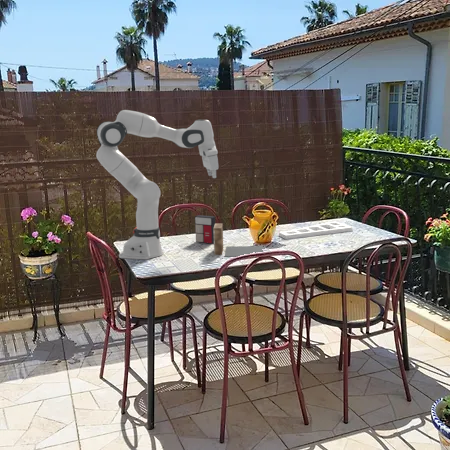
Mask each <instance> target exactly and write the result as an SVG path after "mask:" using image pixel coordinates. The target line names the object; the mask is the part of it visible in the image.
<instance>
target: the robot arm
mask: <svg viewBox="0 0 450 450" xmlns="http://www.w3.org/2000/svg"><path fill="white" fill-rule="evenodd" d="M127 134H130V135H133V136H137V137H142V138H160V139H164V140H167V141H171V142H172V143H173V144H175V145H176V146H177V147H180V148H181V149H182V148H183V149H184V148H186V149H193V148H195V147H198V151H199V152H198V153H199V156H201V159H202V165H203V168H205V169H206V171H207V174H208V176H209V177H212V179H216V178H217V170H219V159H218V154H219V152H218V149H217V146H216V142H215V139H214V137H215V135H214V130H213V127H212V123H211V121H210V120H208V119H196V120H194V122H193V124H191V125H190V126H189V127H187V128H183V127H181V128H172V127H169V126H165V125H162V124H161V123H159V122H158V120H157V119H156V118H155V117H153V116H151V115H149V114H146V113H143V112H141V111H135V110H129V109H122V110H120V111H119V112H118V113H117V115H116V119H115V121H103V122H101V123H100V124H99V125H98V126H97V128H96V136H97V140H98V143H99V145H100V147H99V148H98V149H97V151H96V155H95V156H96V159H97V161H98V162H99V163H100V165H101V166H102V167H103V168H104V169H105V170H106V171H107V172H108V173H109V174H110V175H111V176H112V177H114V178H115V179H116V180H117V181H118V182H119V183H120V184H121V185H122V186H123V187H124V188H125V189H126V190H127V191H128V192H129V193H130V194H131V195H132V196H133V197H134V198H135V199H137V200H136V201H137V205H136V212H135V220H136V221H135V222H136V227H135V228H133V230H132V234H133V235H132V236H131V237H130V238H128V240H127V241H126V242H125V243H124V245H123V249H122V250H121V251H120V253H119V254H118V257H119V258H120V259H128V260H129V259H131V260H132V259H133V260H149V259H152V258H158V257H160V256H162V255H164V251H163V248H162V245H161V244H162V243H161V232H160V230H161V229H160V227H159V203H160V198H161V194H162V193H161V189H160V187H159V186H158V184H157V183H156V182H154V181H153V180H152V181H151V180H150V179H148V178H146V176H145V175H144V174H143V173H142V172H141V171H140V170H139V168H138V167H137V166H136V165H135V164H134V163H133V162H132V161H130V159H128V158H127V157H126V156H125V155H124V154H123V153H122V152H121V151H120V150H119V147H118V146H120V144H121V143H122V142H123V141H124V139H125V137H126V136H127Z"/></svg>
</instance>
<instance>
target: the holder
mask: <svg viewBox="0 0 450 450" xmlns="http://www.w3.org/2000/svg"><path fill="white" fill-rule="evenodd" d="M346 232H353V226H350V225H347V224H345V223H342V222H338V221H329V222H323V223H320V224H319V223H317V224H313V225H309V226H302V228H294V229H290V230H285V231H278V236H279V237H281V238H283V239H284V240H291V239H298V238H307V237H313V236H314V237H315V236H323V235H330V234H337V233H346Z"/></svg>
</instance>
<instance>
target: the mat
mask: <svg viewBox="0 0 450 450" xmlns="http://www.w3.org/2000/svg"><path fill="white" fill-rule="evenodd" d="M263 246H264V247H263ZM265 248H266V246H265V245H258V246H257V245H256V246H255V245H250V246H249V245H248V246H247V245H246V246H244V245H243V246H242V245H240V246H232V245H231V246H226V247H225V251H224V252H225V254H224V258H225V257H226V258H227V257H229V258H231V257H234V258H235V257H236V256H240V255H244V254H250V253H253V252H255V253H256V252H263V250H262V249H265Z"/></svg>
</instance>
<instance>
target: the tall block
mask: <svg viewBox="0 0 450 450" xmlns="http://www.w3.org/2000/svg"><path fill="white" fill-rule="evenodd" d="M223 224H224V223H216V222H215V225H214V228H213V231H214V243H213V255H214V256H215V255H216V256H222V255H223V252H224V229H223V228H224V225H223Z"/></svg>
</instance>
